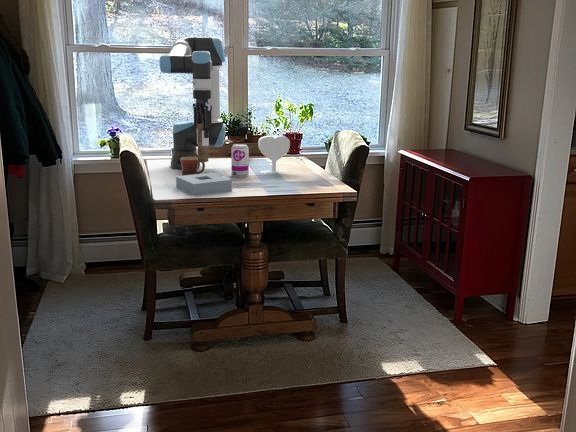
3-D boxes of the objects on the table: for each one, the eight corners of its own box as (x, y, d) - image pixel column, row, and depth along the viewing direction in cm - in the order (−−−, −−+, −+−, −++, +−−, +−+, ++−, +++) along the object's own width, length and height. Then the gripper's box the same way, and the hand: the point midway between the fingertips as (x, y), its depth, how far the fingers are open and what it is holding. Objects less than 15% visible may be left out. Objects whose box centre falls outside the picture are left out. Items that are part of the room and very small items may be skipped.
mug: (177, 181, 284) (176, 159, 282) (186, 177, 292) (185, 156, 290) (200, 183, 281) (200, 161, 278) (208, 179, 289) (208, 158, 286)
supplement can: (246, 178, 293) (246, 146, 289) (229, 177, 295) (229, 146, 291) (250, 174, 301) (250, 144, 297) (234, 173, 303) (234, 143, 299)
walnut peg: (196, 160, 266) (195, 123, 262) (205, 159, 269) (204, 123, 265) (200, 162, 263) (200, 124, 259) (210, 161, 265) (209, 124, 261)
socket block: (176, 187, 272) (175, 176, 270) (212, 183, 281) (212, 172, 280) (194, 195, 257) (193, 184, 256) (231, 190, 267) (231, 179, 266)
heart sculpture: (287, 170, 314) (288, 135, 309) (289, 172, 309) (290, 136, 304) (257, 171, 310) (257, 135, 305) (259, 173, 306) (259, 136, 301)
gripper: (184, 88, 263) (186, 142, 269) (203, 90, 249) (204, 148, 255) (200, 87, 267) (201, 141, 273) (219, 90, 253) (220, 146, 259)
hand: (202, 144), depth 264 cm, fingers closed on walnut peg, 4 cm apart
